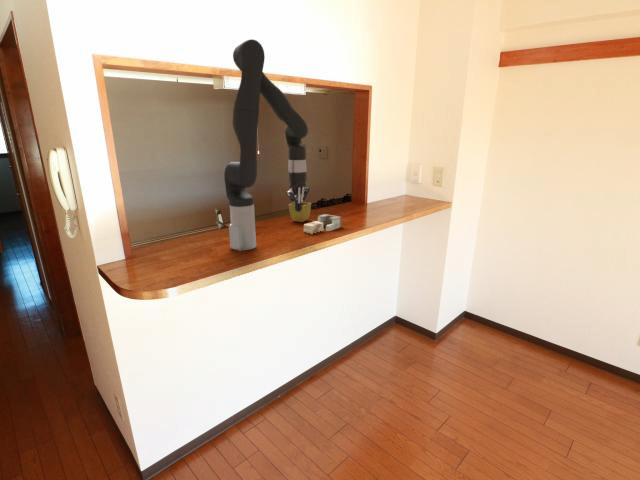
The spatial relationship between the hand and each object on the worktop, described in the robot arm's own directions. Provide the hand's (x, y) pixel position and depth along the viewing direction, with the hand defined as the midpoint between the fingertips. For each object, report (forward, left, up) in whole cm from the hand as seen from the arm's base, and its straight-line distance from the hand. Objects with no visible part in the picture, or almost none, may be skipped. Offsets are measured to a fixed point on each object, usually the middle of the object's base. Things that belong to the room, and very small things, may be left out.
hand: (298, 211), depth 158 cm
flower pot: (+21, +19, -11) cm, 31 cm away
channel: (+19, 0, -11) cm, 22 cm away
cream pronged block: (+10, 0, -11) cm, 15 cm away
